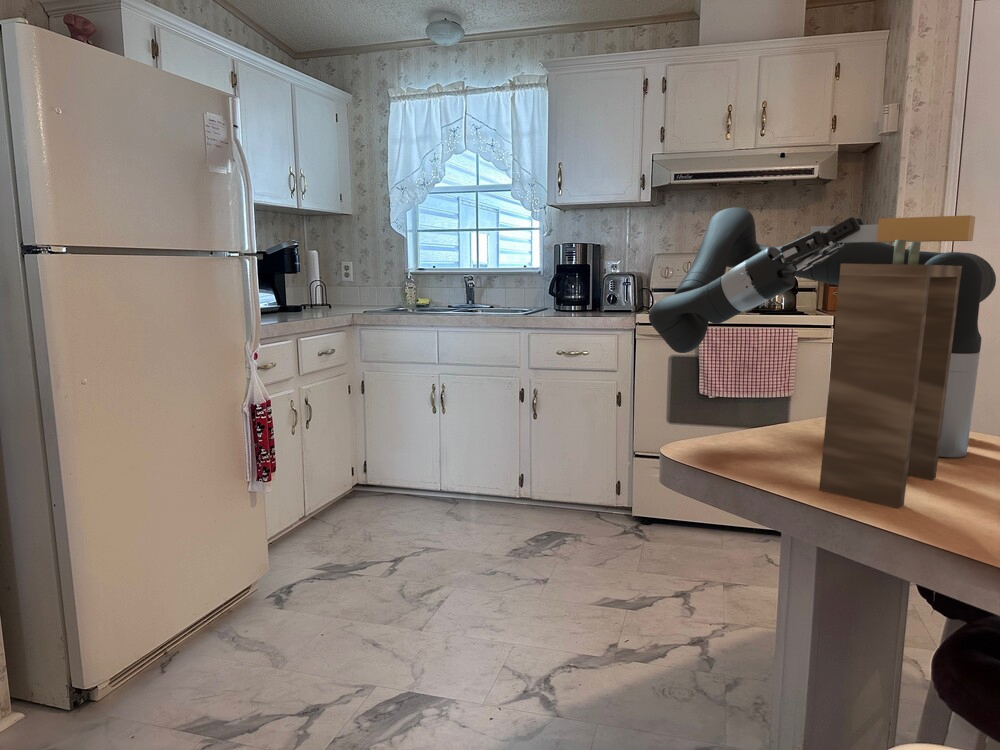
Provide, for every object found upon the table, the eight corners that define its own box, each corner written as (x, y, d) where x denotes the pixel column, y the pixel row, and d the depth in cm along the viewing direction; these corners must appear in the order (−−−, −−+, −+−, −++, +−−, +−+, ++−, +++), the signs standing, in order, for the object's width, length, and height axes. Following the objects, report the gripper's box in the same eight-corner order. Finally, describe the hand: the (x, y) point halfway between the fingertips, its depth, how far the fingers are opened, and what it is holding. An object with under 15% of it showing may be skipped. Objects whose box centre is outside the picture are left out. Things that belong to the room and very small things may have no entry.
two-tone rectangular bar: (816, 243, 108) (818, 222, 108) (972, 240, 94) (975, 216, 94) (808, 242, 106) (810, 220, 105) (967, 240, 92) (970, 215, 91)
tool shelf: (863, 463, 109) (886, 244, 104) (935, 477, 103) (964, 244, 97) (819, 490, 96) (842, 240, 90) (899, 508, 89) (930, 239, 84)
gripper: (784, 299, 118) (886, 246, 106) (748, 301, 108) (856, 243, 96) (765, 260, 119) (863, 204, 108) (728, 259, 109) (832, 197, 98)
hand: (859, 223), depth 102 cm, fingers closed on two-tone rectangular bar, 2 cm apart
